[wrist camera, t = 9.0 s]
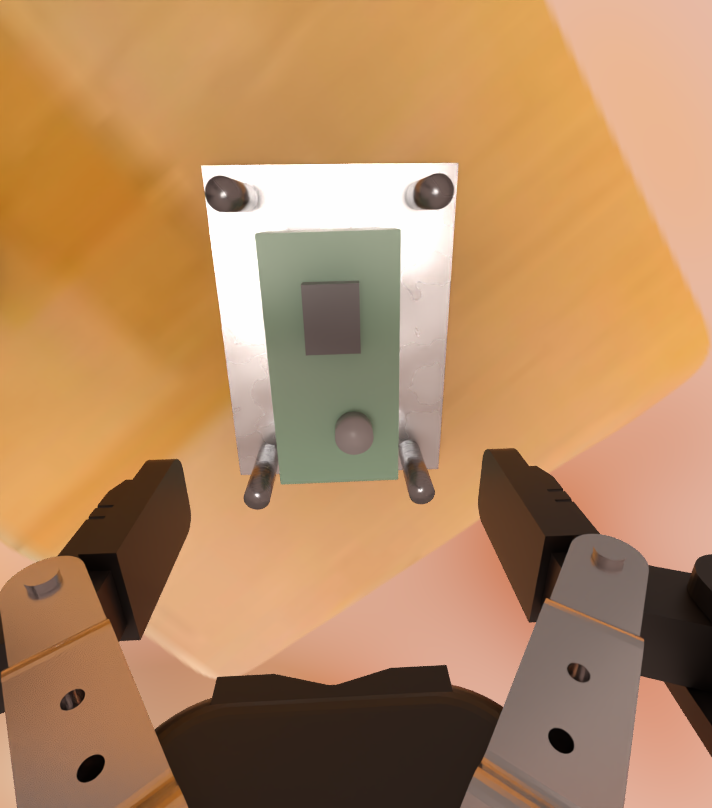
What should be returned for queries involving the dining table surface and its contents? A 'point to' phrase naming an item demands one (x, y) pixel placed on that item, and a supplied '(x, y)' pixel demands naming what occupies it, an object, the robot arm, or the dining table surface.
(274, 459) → the chassis
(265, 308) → the board
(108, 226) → the dining table surface
